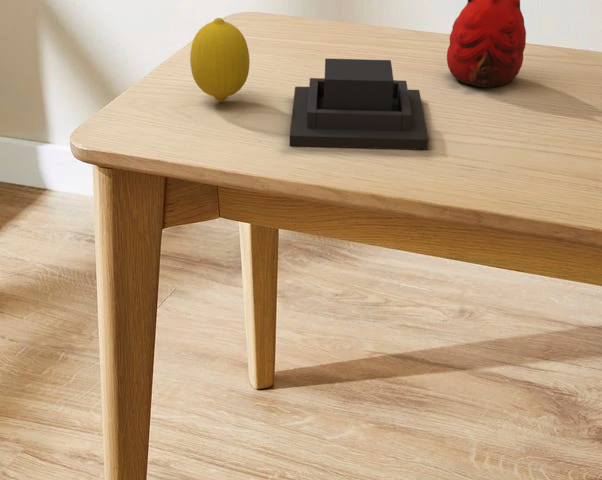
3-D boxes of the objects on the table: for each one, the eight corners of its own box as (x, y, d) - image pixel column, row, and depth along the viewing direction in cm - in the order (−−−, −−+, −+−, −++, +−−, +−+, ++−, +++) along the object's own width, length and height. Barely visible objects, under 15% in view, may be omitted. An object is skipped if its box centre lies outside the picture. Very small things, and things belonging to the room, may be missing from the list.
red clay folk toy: (517, 70, 102) (538, -81, 94) (523, 94, 96) (546, -65, 88) (444, 66, 103) (458, -84, 95) (445, 90, 97) (461, -68, 89)
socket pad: (418, 99, 95) (420, 74, 93) (427, 150, 85) (430, 122, 83) (295, 96, 95) (295, 71, 94) (289, 146, 85) (289, 119, 84)
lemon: (224, 87, 97) (221, 6, 92) (262, 102, 93) (261, 19, 89) (180, 100, 94) (175, 17, 89) (217, 117, 90) (214, 31, 86)
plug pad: (388, 101, 91) (390, 59, 89) (390, 124, 87) (393, 81, 85) (324, 99, 92) (325, 58, 89) (323, 122, 87) (324, 79, 85)
